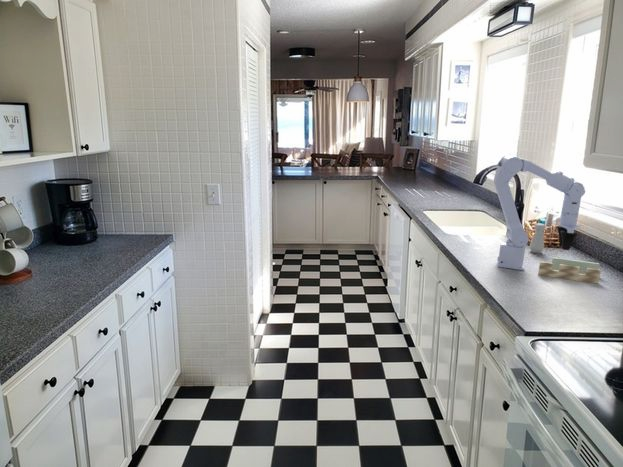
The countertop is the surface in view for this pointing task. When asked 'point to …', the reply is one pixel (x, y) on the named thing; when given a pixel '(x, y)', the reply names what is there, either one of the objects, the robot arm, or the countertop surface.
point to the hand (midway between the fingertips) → (563, 247)
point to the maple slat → (569, 272)
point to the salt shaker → (537, 239)
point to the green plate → (574, 264)
